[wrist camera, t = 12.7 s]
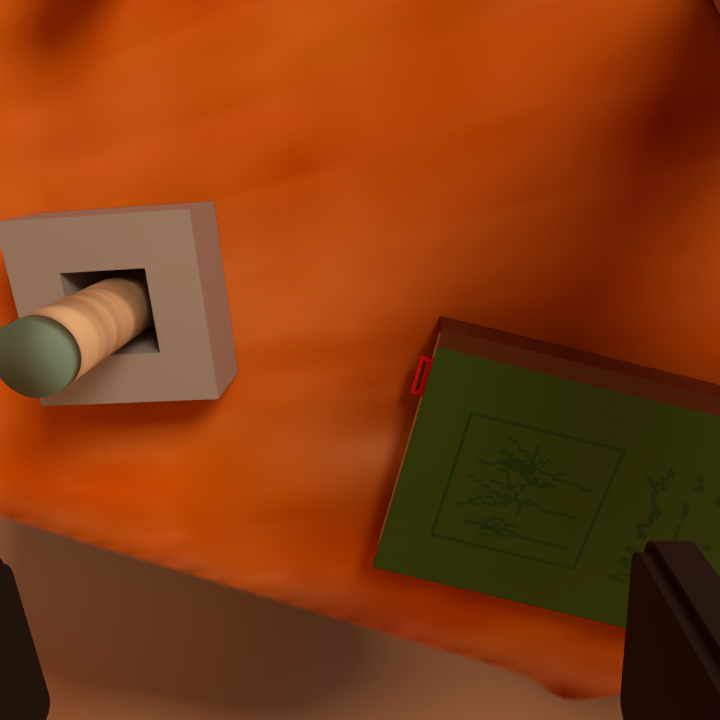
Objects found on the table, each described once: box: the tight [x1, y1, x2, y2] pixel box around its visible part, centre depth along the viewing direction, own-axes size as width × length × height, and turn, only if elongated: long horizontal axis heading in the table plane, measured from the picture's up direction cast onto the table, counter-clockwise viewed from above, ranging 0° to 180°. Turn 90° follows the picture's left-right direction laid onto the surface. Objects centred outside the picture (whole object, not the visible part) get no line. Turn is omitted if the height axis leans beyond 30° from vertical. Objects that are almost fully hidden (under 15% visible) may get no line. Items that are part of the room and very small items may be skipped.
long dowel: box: [0, 268, 155, 398], centre depth 37 cm, size 4×4×14 cm
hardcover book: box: [373, 316, 720, 628], centre depth 45 cm, size 25×19×4 cm
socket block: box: [0, 201, 238, 406], centre depth 42 cm, size 12×12×5 cm
